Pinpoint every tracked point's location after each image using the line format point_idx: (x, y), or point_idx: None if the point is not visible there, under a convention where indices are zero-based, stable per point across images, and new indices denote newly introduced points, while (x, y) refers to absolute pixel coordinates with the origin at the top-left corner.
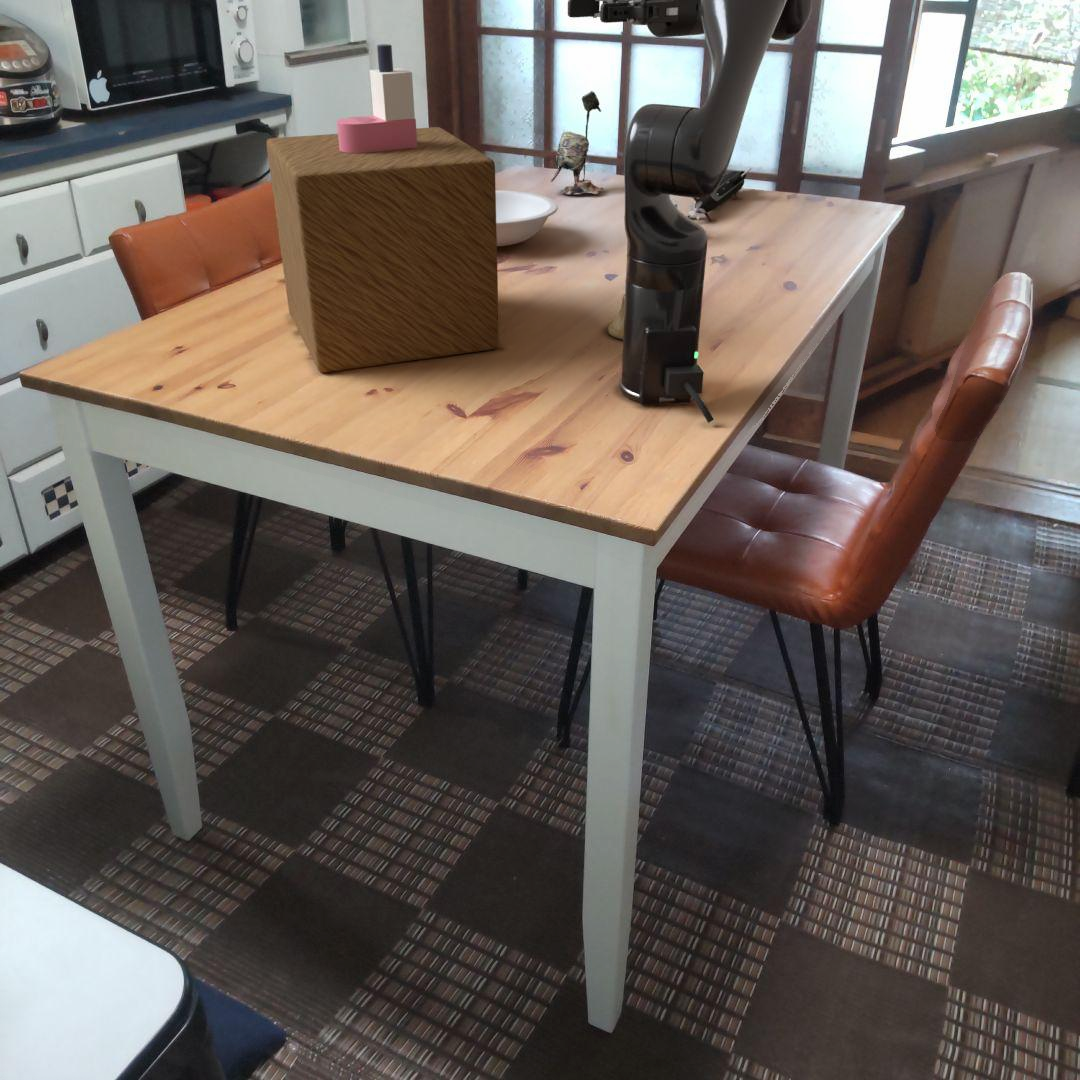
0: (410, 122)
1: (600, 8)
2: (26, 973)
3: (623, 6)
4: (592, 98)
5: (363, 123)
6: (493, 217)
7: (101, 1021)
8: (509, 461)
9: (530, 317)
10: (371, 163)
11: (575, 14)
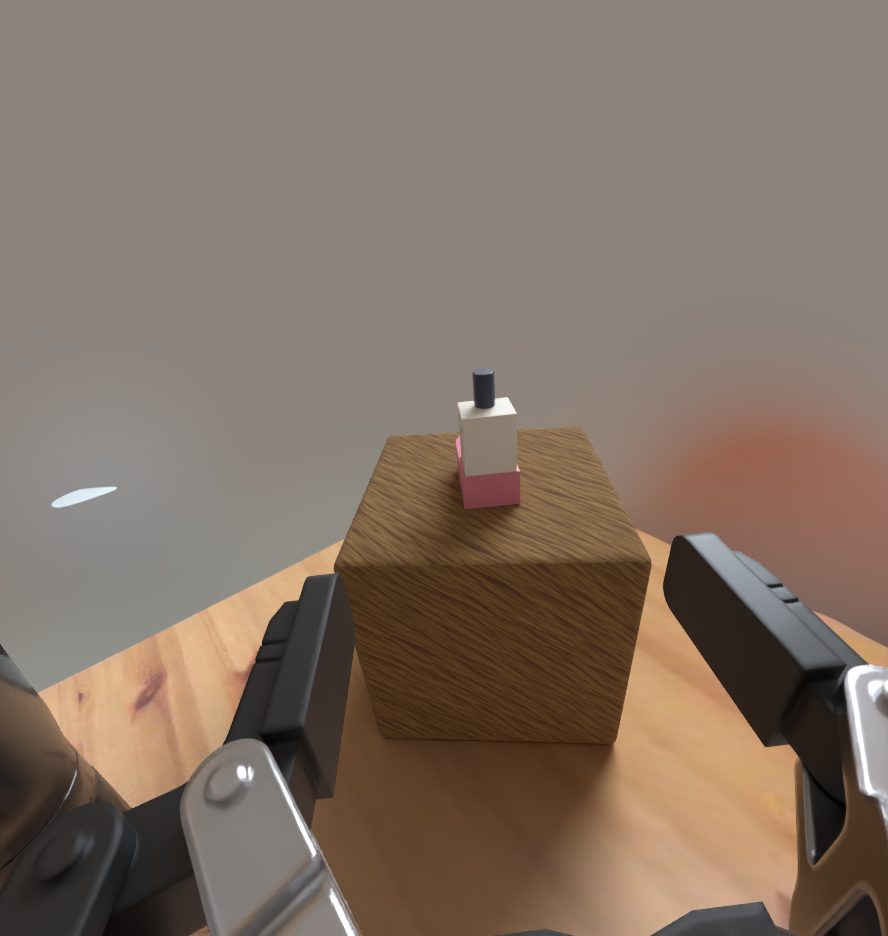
0: (461, 476)
1: (343, 582)
2: (97, 489)
3: (265, 701)
4: None
5: (456, 442)
6: None
7: (66, 499)
8: (166, 659)
9: (483, 844)
10: (399, 471)
11: (682, 611)
